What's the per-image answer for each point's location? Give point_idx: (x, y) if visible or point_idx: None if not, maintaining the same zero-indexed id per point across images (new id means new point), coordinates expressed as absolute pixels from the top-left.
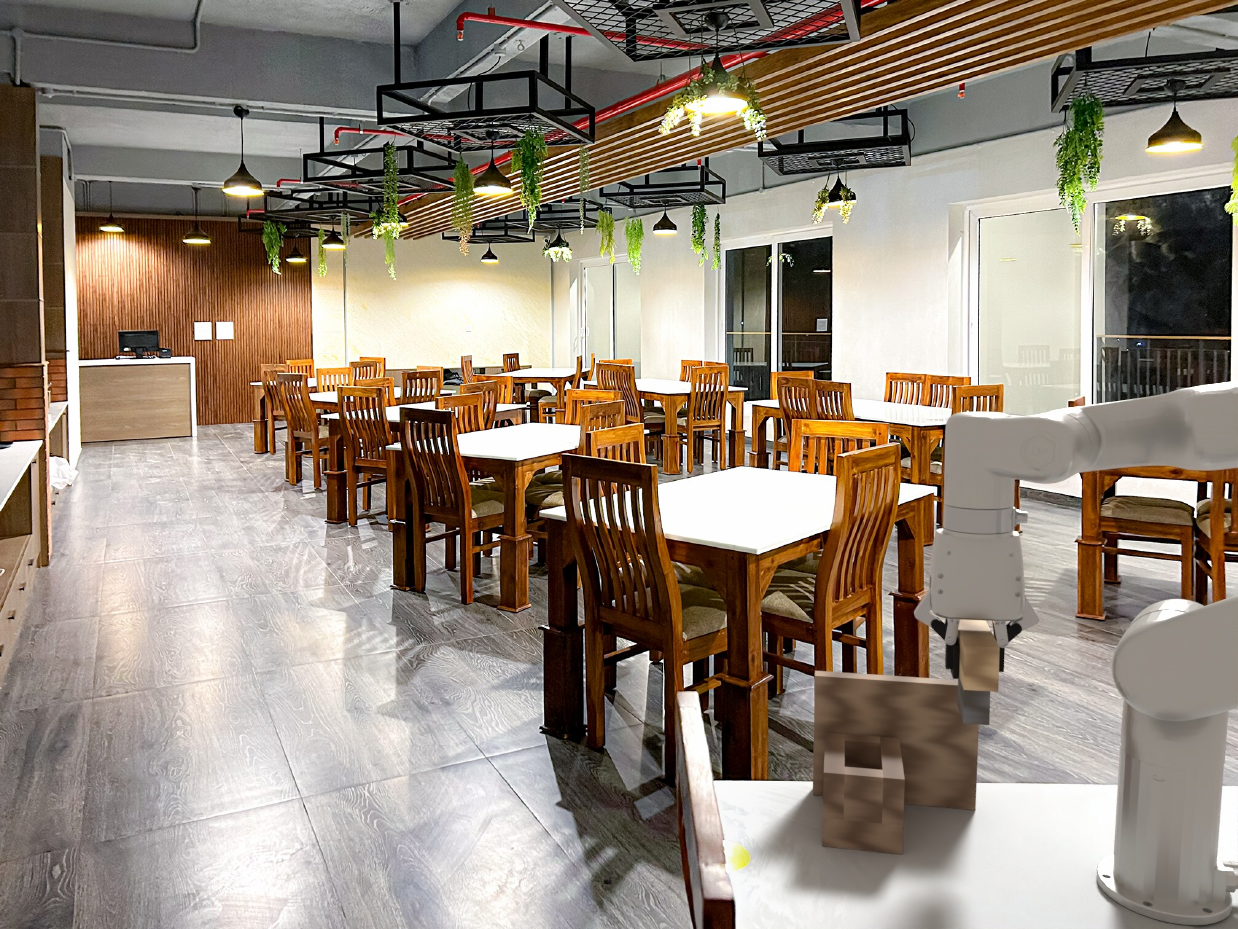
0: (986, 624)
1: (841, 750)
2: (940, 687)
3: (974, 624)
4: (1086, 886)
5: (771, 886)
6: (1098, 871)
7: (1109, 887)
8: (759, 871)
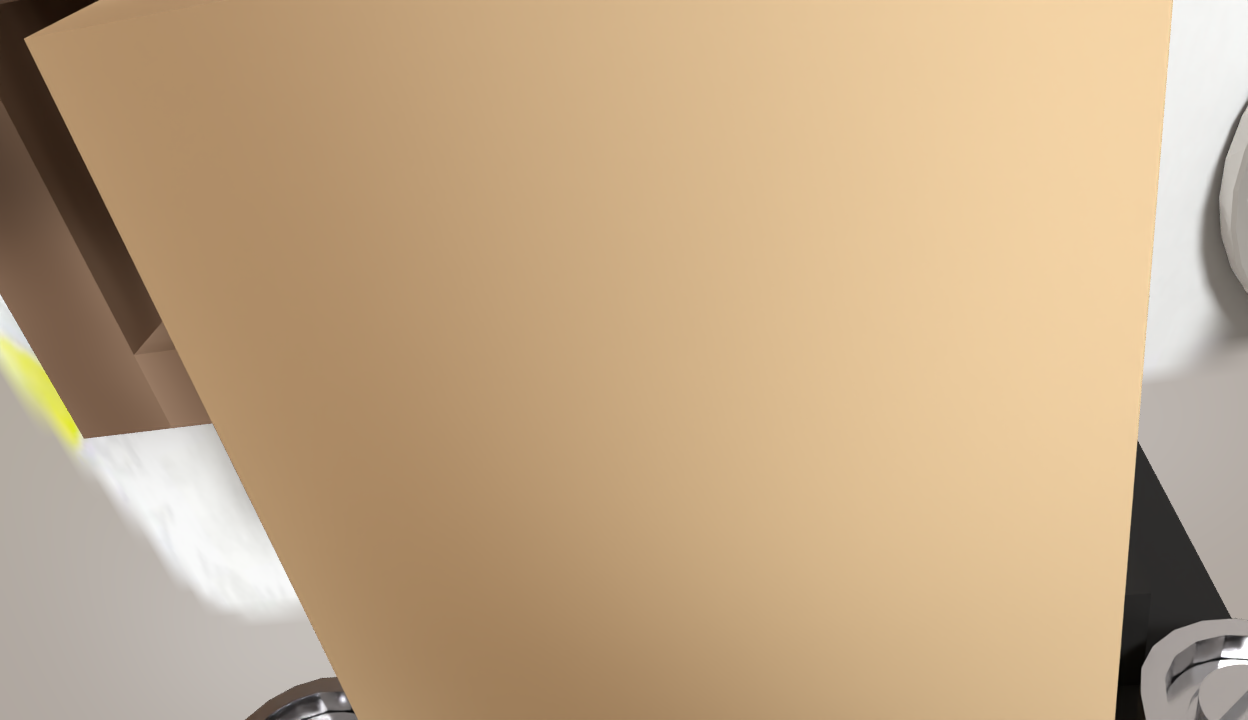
0: (1089, 582)
1: (21, 173)
2: None
3: (764, 639)
4: (1168, 197)
5: (201, 502)
6: (1244, 173)
7: (1244, 273)
8: (131, 448)
